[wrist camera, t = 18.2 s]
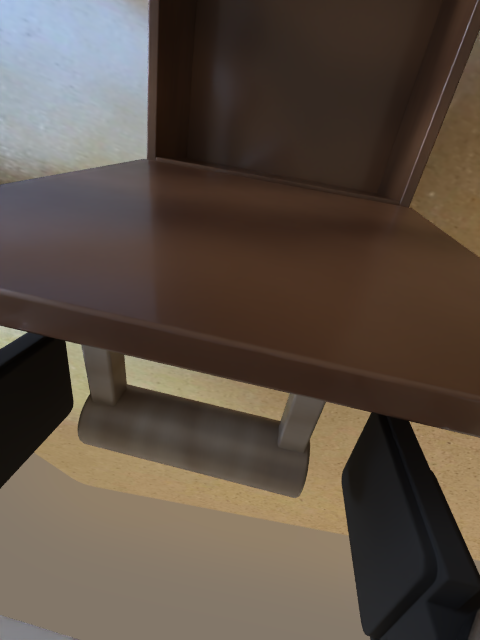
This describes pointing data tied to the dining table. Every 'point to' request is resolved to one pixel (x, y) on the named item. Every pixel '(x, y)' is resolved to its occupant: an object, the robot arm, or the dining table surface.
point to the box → (306, 89)
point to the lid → (241, 309)
